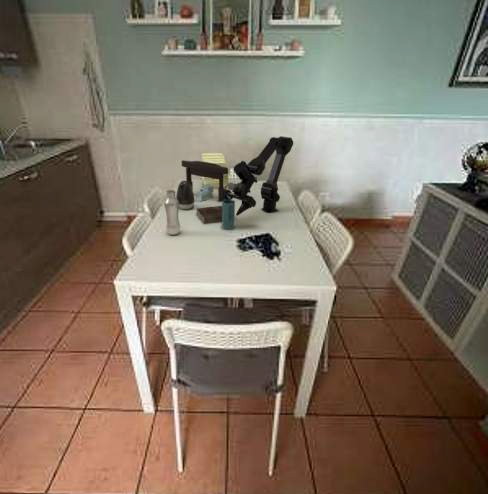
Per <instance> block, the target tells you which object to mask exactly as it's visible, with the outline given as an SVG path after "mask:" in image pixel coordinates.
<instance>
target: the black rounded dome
mask: <svg viewBox="0 0 488 494" xmlns="http://www.w3.org/2000/svg"><path fill="white" fill-rule="evenodd" d="M175 197H176V198H177V200H178V202H179V209H182V210H189V209H192V208H193V206H194V205H195V201H196V199H195V194H194V189H193V190H192V187H191V185H190V184H189V182H188V181H186V180H181V181H180V182H179V184H178V186H177V190H176V193H175Z"/></svg>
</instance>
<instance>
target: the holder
mask: <svg viewBox="0 0 488 494" xmlns="http://www.w3.org/2000/svg"><path fill="white" fill-rule="evenodd" d="M195 211H196V212H195V213H196V215H197V217H198V218H199V220H200V221H201V222H202V223H203V224H205V225H207V224H214V223H216V224H217V223H222V205H215V206H206V207H198V208H196V210H195Z"/></svg>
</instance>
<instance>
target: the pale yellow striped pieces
mask: <svg viewBox="0 0 488 494" xmlns="http://www.w3.org/2000/svg"><path fill="white" fill-rule="evenodd" d="M201 160H202V162H209V163H214V164H217V165H220V166H222V167H226V168H228V174H223V187H224V188H225V187H227V185H228V184H229V176H230V175H231V166H230V164H229V163H228V162H227V161H226V157H225V155H224V154H223V153H221V152H204V153H203V152H202V153H201ZM202 183H203V184H202V185H206V184H209V183H210V184H212V185H213V188H218V187H219V179H213V178H209V179H203V180H202Z"/></svg>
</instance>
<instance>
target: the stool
mask: <svg viewBox="0 0 488 494" xmlns="http://www.w3.org/2000/svg"><path fill="white" fill-rule="evenodd" d="M181 167H183V168H185V177H186V180H185V181H188V182H189V184H190V185H191V187H192V190H193V191H194V188H193V187H194V185H193V183H194V182H193V180H192V179H193V177H192V176H196V177H202V178H207V179H219V187H217V189H218V193H217V194H218V196H217V199H218V202H221V203H222V201H223V200H224V198H223V196H222V194H221V191H222V189H225V187H223V174H228V168H226V167H222V166H220V165H217V164H214V163H209V162H203V160H202V161H201V160H192V161H191V160H181ZM200 187H201V188H199V189H198V190H197V192H196V199H195V201H196V203H198V202H199V203H200V202H203V201H204V202H205V201H207V199H208V200H210V198H214V196H213V193H214V187H213V185H212V184H210V183H209V184H206V185H204V184H202V185H201V186H200Z"/></svg>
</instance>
